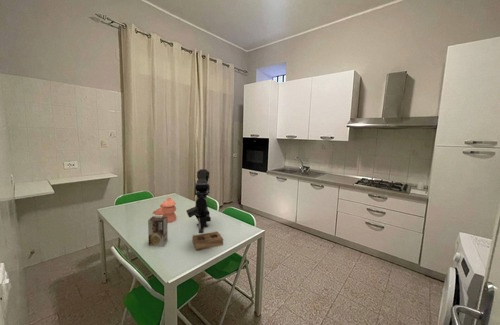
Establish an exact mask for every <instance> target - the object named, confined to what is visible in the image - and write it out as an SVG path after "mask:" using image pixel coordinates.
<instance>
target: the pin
mask: <svg viewBox="0 0 500 325" xmlns="http://www.w3.org/2000/svg"><path fill="white" fill-rule="evenodd" d="M198 223H199V227H198V234H204V233H205V230H204V229H205V227H204V228H203V229H201V226H200V222H198Z"/></svg>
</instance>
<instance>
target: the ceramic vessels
mask: <svg viewBox="0 0 500 325" xmlns="http://www.w3.org/2000/svg"><path fill="white" fill-rule="evenodd" d="M176 204H177V202H176V201H175V200H173V199H172V197H167V198H166V200H165V201H163V202H162V203H160V204H159V208H157V209H156V210H154V211H152V214H153V215H154V214H155V215H154V216H161V217H167V224H168V223H173V222H175V221H176V220H177V215H176V213H175V212H176V210H177V207H176V206H175V205H176Z"/></svg>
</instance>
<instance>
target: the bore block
mask: <svg viewBox="0 0 500 325" xmlns="http://www.w3.org/2000/svg"><path fill="white" fill-rule="evenodd" d="M191 238H192V240H191V241H192V244H193V245H194V248H195V251H201V250H207V249H210V248H211V249H212V248H216V247H220V246H223V245H224V238H223V236H222V235H221V234H220V233H219V232H218V231H211V232H206V233H205V232H204V233H199V234H195V235H192V237H191Z"/></svg>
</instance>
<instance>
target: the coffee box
mask: <svg viewBox="0 0 500 325" xmlns="http://www.w3.org/2000/svg"><path fill="white" fill-rule="evenodd" d="M147 225H148V226H147V228H148V233H147V234H148V247H165V245H166V244H167V243H168V236H169V235H168V234H169V233H168V223H167V217H162V215H154V216H153V215H152V217H151V216H150V218H149V219H148V220H147Z"/></svg>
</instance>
